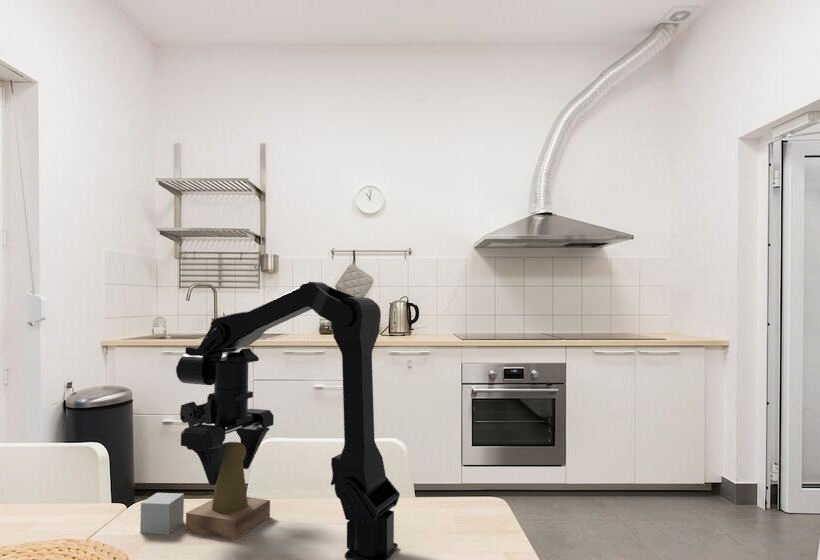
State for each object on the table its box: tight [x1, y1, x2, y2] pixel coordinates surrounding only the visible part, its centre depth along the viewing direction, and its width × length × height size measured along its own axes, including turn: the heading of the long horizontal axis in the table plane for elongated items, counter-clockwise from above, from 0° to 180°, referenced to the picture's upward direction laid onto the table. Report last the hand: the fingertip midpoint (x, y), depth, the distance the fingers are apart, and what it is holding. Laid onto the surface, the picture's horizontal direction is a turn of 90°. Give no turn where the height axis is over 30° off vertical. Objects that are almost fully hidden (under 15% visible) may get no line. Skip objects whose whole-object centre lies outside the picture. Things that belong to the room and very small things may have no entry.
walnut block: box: [185, 496, 271, 540], centre depth 96 cm, size 10×10×3 cm
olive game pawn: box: [212, 441, 248, 513], centre depth 97 cm, size 6×6×11 cm
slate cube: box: [139, 492, 185, 535], centre depth 95 cm, size 5×5×5 cm
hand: (229, 476), depth 97 cm, fingers open, 9 cm apart
